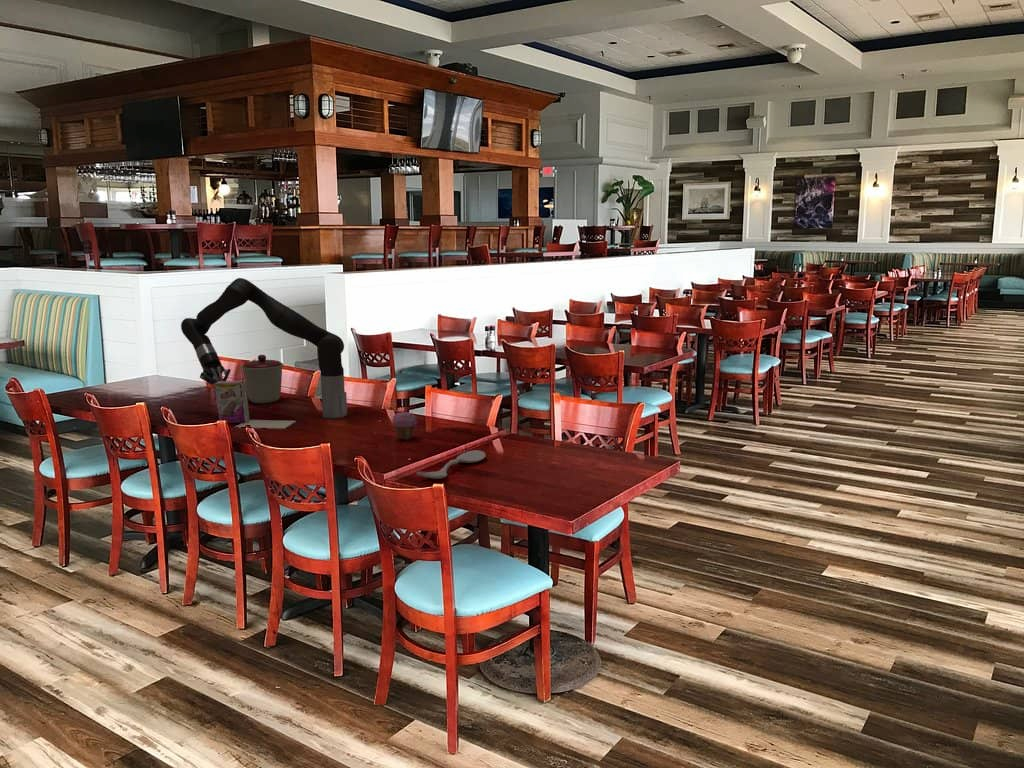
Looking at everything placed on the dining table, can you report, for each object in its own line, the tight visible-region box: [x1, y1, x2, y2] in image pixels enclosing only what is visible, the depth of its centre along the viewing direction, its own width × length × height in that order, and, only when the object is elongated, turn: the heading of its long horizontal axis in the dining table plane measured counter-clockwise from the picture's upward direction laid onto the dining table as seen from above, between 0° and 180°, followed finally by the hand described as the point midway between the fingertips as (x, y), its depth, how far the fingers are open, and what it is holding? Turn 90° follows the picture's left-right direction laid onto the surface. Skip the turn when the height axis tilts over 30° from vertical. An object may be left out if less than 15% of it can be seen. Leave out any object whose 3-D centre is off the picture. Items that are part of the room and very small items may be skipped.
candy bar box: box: [213, 380, 251, 424], centre depth 325 cm, size 11×5×16 cm, turn 84°
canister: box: [240, 354, 284, 404], centre depth 365 cm, size 18×18×21 cm
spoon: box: [415, 449, 487, 480], centre depth 261 cm, size 9×32×4 cm, turn 154°
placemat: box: [234, 419, 297, 430], centre depth 323 cm, size 20×12×1 cm, turn 83°
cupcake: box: [392, 411, 418, 441], centre depth 299 cm, size 9×9×10 cm
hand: (222, 390), depth 331 cm, fingers closed
